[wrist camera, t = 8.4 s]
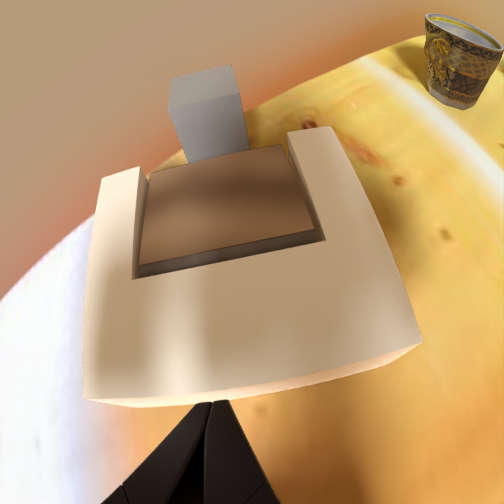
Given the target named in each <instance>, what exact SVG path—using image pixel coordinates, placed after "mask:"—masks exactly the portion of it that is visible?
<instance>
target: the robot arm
mask: <svg viewBox="0 0 504 504" xmlns="http://www.w3.org/2000/svg"><path fill="white" fill-rule="evenodd" d="M122 485H123V486H122ZM122 485H120V486H119V487H118V488H117V489H116V490H115V491H114V492H113V493H112V494H111V495H109V496H108V497H107V498H106V499H105V500H104V501H103V502H102V503H101V504H282V502H281V501H280V499H279V498H278V496H277V494H276V493H275V491H274V489H273V487H272V485H271V484H270V482H269V480H268V478H267V476H266V475H265V473H264V471H263V469H262V467H261V465H260V463H259V461H258V459H257V457H256V455H255V454H254V452H253V450H252V448H251V446H250V444H249V442H248V440H247V438H246V436H245V434H244V431H243V429H242V427H241V425H240V423H239V421H238V419H237V417H236V415H235V413H234V411H233V408H232V406H231V404H230V402H229V400H228V399H223V400H216V401H213V402H211V401H207V402H199V403H197V404H195V406H194V407H193V408H192V409H191V410H190V411H189V412H188V413H187V415H186V416H185V417H184V418H183V419H182V420H181V421H180V422H179V423H178V425H177V426H176V427H175V428H174V429H173V430H172V431H171V432H170V433H169V434H168V436H167V437H166V438H165V439H164V440H163V441H162V442H161V443H160V444H159V445H158V446H157V447H156V448H155V450H154V451H153V452H152V453H151V454H150V455H149V456H148V457H147V458H146V459H145V460H144V461H143V462H142V463H141V464H140V465H139V466H138V467H137V468H136V469H135V470H134V472H133V473H132V474H131V475H130V476H129V477H128V478H127V479H126V480H125V481H124V482H123V483H122Z"/></svg>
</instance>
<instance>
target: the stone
mask: <svg viewBox="0 0 504 504" xmlns="http://www.w3.org/2000/svg"><path fill="white" fill-rule="evenodd" d="M168 111H169V114H170V117H171V119H172V122H173V124H174V127H175V130H176V132H177V135H178V138H179V140H180V143H181V145H182V148H183V150H184V153H185V156H186V158H187V161H188V163H189V164H190V163H194V162H198V161H202V160H206V159H210V158H215V157H219V156H224V155H228V154H233V153H237V152H242V151H247V150H250V146H249V140H248V135H247V130H246V125H245V119H244V114H243V109H242V104H241V98H240V93H239V89H238V86H237V82H236V79H235V76H234V71H233V68H232V65H227V66H221V67H217V68H213V69H208V70H204V71H200V72H195V73H192V74H188V75H184V76H180V77H177V78H173V79H171V84H170V94H169V104H168Z"/></svg>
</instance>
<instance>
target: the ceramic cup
mask: <svg viewBox="0 0 504 504" xmlns="http://www.w3.org/2000/svg"><path fill="white" fill-rule="evenodd" d="M425 30H426V42H425V46H424V51H425V55H426V56H427V85H428V88H429V92H430V94H431V95H432V96H433V97H435V98H436V99H438V100H439V101H440V102H442V103H443V104H445V105H448V106H451V107H454V108H457V109H461V110H465V109H468V108H470V107H472V106H474V105H475V103H476V101H477V100H478V98H479V96H480V94H481V93H482V91H483V89H484V88H485V86H486V84H487V82H488V80H489V78H490V76H491V75H492V74H493V72H494V71H495V69H496V67H497V65H498V63H499V61H500V59H501V57H502V55H503V52H504V47H503V45H502V44H501V43H500V42H499V41H498V40H497V39H495V38H494V37H493V36H491V35H490V34H488V33H487V32H485V31H483V30H482V29H480V28H478V27H476V26H474V25H472V24H469V23H467V22H464V21H462V20H460V19H457V18H454V17H450V16H446V15H442V14H433V13H432V14H427V15H426V16H425Z"/></svg>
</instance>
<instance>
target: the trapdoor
mask: <svg viewBox="0 0 504 504" xmlns="http://www.w3.org/2000/svg"><path fill="white" fill-rule="evenodd" d="M312 243H317V236H316V232H315V230H314V227H313V224H312V221H311V218H310V216H309V213H308V210H307V208H306V205H305V202H304V200H303V197H302V194H301V192H300V189H299V187H298V184H297V181H296V179H295V176H294V174H293V171H292V169H291V166H290V164H289V161H288V159H287V156H286V154H285V151H284V149H283V147H282V144H279V145H273V146H268V147H262V148H257V149H252V150H247V151H242V152H237V153H233V154H228V155H224V156H219V157H215V158H210V159H206V160H202V161H198V162H194V163H190V164H186V165H182V166H178V167H174V168H170V169H166V170H163V171H159V172H155V173H152V174H151V179H150V185H149V191H148V197H147V204H146V211H145V218H144V225H143V233H142V241H141V249H140V259H139V269H138V271H139V276H140V278H145V277H150V276H155V275H160V274H165V273H169V272H174V271H179V270H184V269H189V268H194V267H199V266H204V265H209V264H214V263H219V262H224V261H229V260H234V259H239V258H243V257H248V256H253V255H258V254H263V253H268V252H273V251H278V250H283V249H287V248H292V247H297V246H302V245H307V244H312Z"/></svg>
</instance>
